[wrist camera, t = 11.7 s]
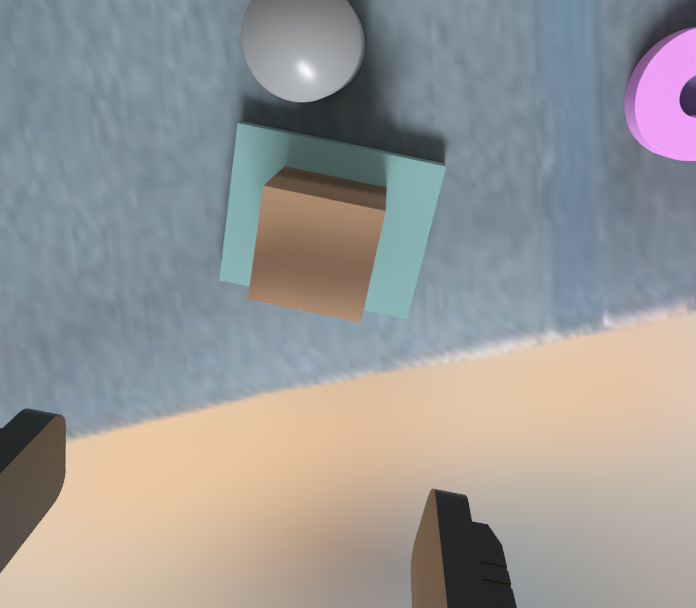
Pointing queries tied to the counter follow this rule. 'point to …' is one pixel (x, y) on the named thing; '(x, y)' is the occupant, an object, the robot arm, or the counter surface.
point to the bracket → (664, 97)
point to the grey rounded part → (303, 46)
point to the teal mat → (344, 162)
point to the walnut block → (317, 243)
